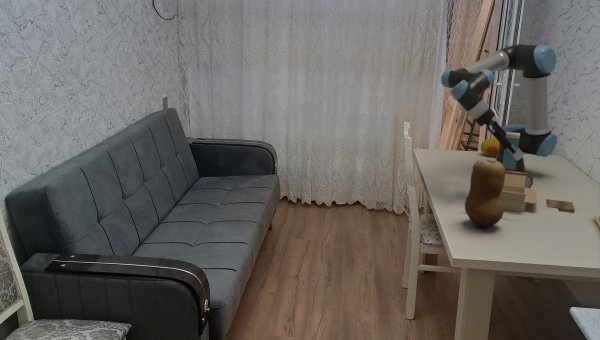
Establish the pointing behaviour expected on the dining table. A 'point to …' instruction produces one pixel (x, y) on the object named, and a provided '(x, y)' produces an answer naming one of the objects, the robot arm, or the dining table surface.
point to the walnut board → (561, 205)
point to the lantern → (490, 147)
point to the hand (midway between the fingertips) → (520, 157)
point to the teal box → (508, 159)
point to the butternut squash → (485, 193)
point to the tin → (528, 177)
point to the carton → (517, 193)
